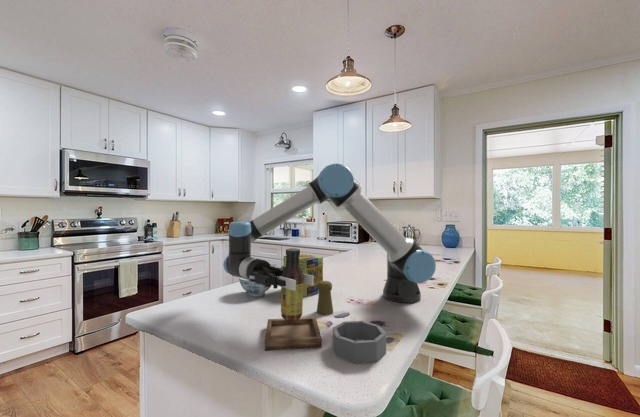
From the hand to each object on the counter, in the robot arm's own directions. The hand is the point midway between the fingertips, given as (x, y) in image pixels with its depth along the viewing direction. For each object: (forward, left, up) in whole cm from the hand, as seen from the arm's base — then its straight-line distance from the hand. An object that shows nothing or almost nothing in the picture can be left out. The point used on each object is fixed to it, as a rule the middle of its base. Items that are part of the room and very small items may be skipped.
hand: (304, 282), depth 81 cm
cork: (-9, -22, -17) cm, 29 cm away
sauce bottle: (+3, -4, -11) cm, 12 cm away
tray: (+3, -4, -16) cm, 17 cm away
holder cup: (-14, +6, -16) cm, 22 cm away
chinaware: (+17, -47, -17) cm, 53 cm away
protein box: (-3, -49, -17) cm, 52 cm away
